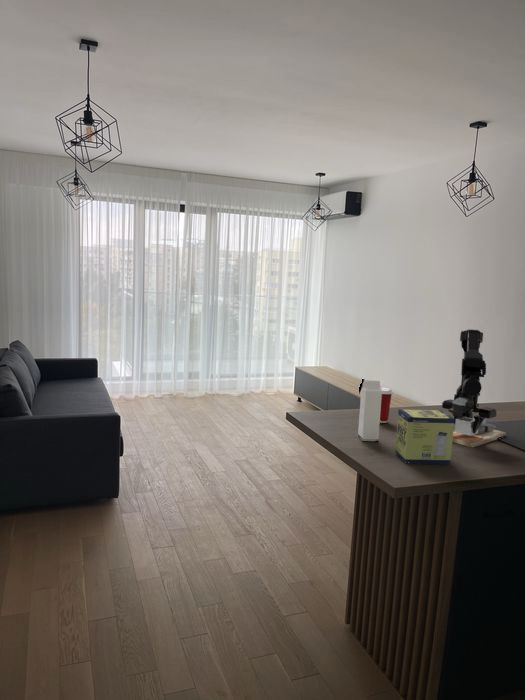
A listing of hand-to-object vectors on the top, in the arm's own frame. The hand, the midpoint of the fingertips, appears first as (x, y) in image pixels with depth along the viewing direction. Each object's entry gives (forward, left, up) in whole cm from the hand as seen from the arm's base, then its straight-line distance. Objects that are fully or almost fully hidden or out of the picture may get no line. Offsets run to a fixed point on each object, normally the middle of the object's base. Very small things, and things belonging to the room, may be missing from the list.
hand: (466, 431), depth 199 cm
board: (-1, +8, -4) cm, 9 cm away
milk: (-22, -30, -4) cm, 38 cm away
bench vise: (-1, +14, -2) cm, 14 cm away
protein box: (+2, -32, -4) cm, 32 cm away
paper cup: (-35, -5, -4) cm, 36 cm away
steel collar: (0, 0, 0) cm, 0 cm away
